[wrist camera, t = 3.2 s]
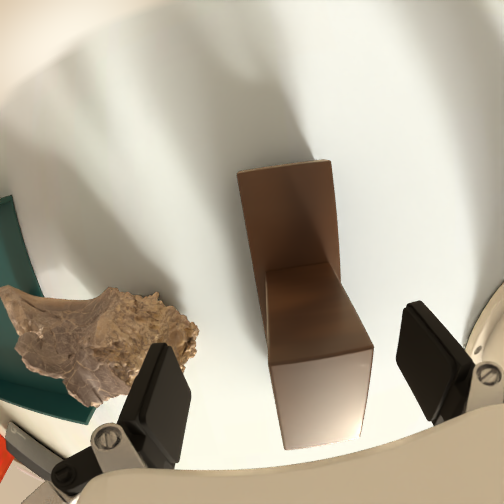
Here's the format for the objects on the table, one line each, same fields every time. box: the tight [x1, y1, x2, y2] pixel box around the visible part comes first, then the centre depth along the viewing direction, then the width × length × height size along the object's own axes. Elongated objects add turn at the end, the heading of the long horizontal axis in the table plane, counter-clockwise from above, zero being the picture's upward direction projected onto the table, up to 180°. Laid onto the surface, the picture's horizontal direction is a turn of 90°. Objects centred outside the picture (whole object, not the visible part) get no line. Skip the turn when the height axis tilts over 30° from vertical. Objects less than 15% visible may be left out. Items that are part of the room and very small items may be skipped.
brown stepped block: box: [237, 159, 374, 450], centre depth 12 cm, size 4×14×9 cm, turn 9°
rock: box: [0, 285, 199, 408], centre depth 14 cm, size 6×14×7 cm, turn 78°
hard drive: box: [5, 421, 63, 482], centre depth 28 cm, size 13×19×4 cm
